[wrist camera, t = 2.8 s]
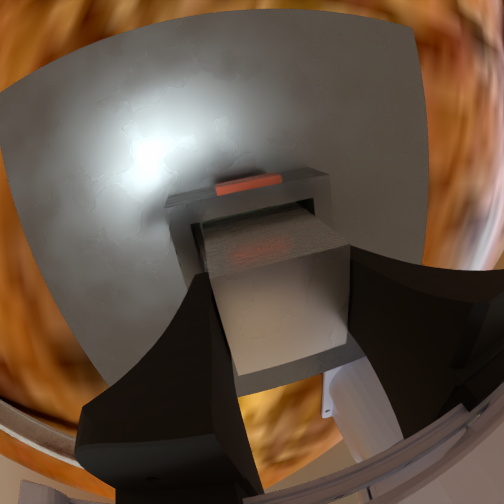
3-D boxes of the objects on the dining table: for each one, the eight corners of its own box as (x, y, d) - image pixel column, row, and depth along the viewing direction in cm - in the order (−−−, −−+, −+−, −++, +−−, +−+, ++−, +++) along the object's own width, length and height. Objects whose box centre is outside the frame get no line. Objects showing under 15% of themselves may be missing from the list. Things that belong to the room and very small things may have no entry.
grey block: (299, 274, 14) (348, 343, 10) (218, 295, 14) (236, 378, 9) (291, 195, 12) (353, 239, 8) (198, 214, 12) (204, 277, 7)
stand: (396, 327, 21) (419, 353, 18) (133, 399, 18) (130, 435, 15) (396, 32, 11) (435, 22, 8) (9, 97, 8) (-30, 96, 5)
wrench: (-27, 358, 17) (226, 446, 23) (-22, 368, 17) (222, 453, 23) (-57, 404, 9) (230, 515, 15) (-50, 414, 10) (226, 519, 16)
